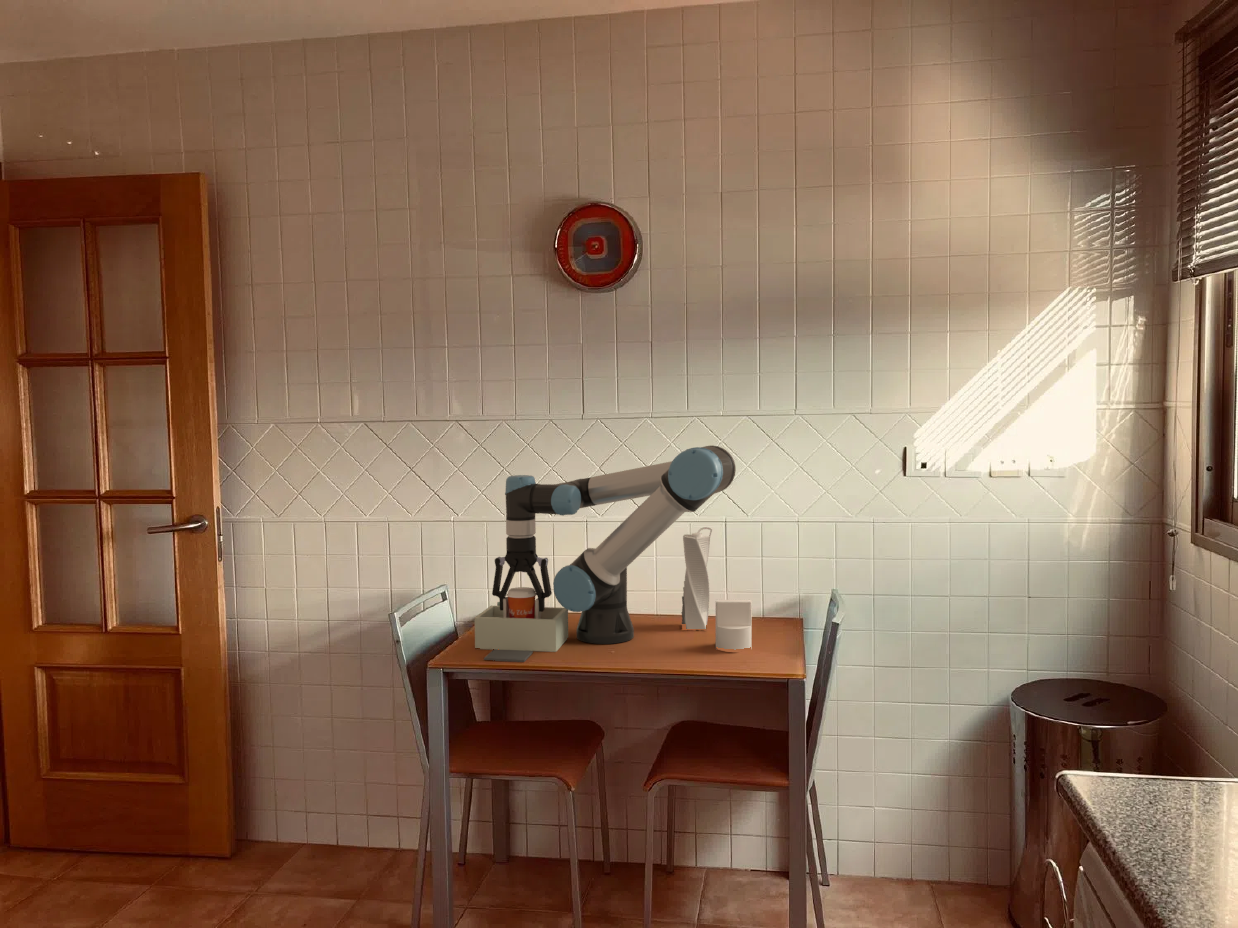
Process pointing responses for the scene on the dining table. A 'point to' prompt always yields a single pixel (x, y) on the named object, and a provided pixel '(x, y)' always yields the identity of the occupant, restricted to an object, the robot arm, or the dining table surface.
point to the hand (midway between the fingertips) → (522, 623)
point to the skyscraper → (696, 581)
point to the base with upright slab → (733, 624)
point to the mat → (508, 655)
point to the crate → (521, 630)
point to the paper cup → (521, 602)
